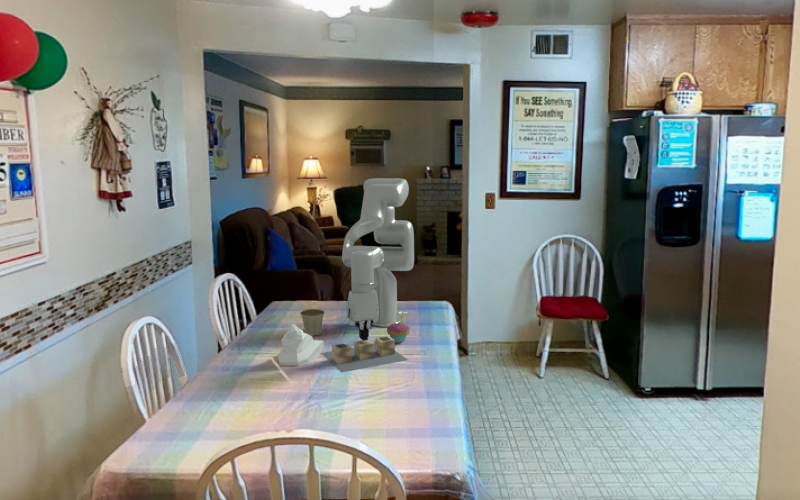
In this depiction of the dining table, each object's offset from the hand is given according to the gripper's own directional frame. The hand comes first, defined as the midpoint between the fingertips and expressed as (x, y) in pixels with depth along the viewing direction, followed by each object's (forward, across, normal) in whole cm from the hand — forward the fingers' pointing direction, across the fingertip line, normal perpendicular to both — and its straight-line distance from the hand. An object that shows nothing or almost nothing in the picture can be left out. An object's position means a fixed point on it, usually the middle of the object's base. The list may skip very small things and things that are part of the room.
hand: (364, 339), depth 199 cm
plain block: (+6, 0, 0) cm, 6 cm away
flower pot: (+7, +7, -34) cm, 35 cm away
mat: (+7, 0, 0) cm, 7 cm away
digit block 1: (+6, +8, 0) cm, 10 cm away
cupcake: (+7, -18, -10) cm, 21 cm away
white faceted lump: (+7, +21, -8) cm, 24 cm away
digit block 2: (+6, -8, 0) cm, 10 cm away
